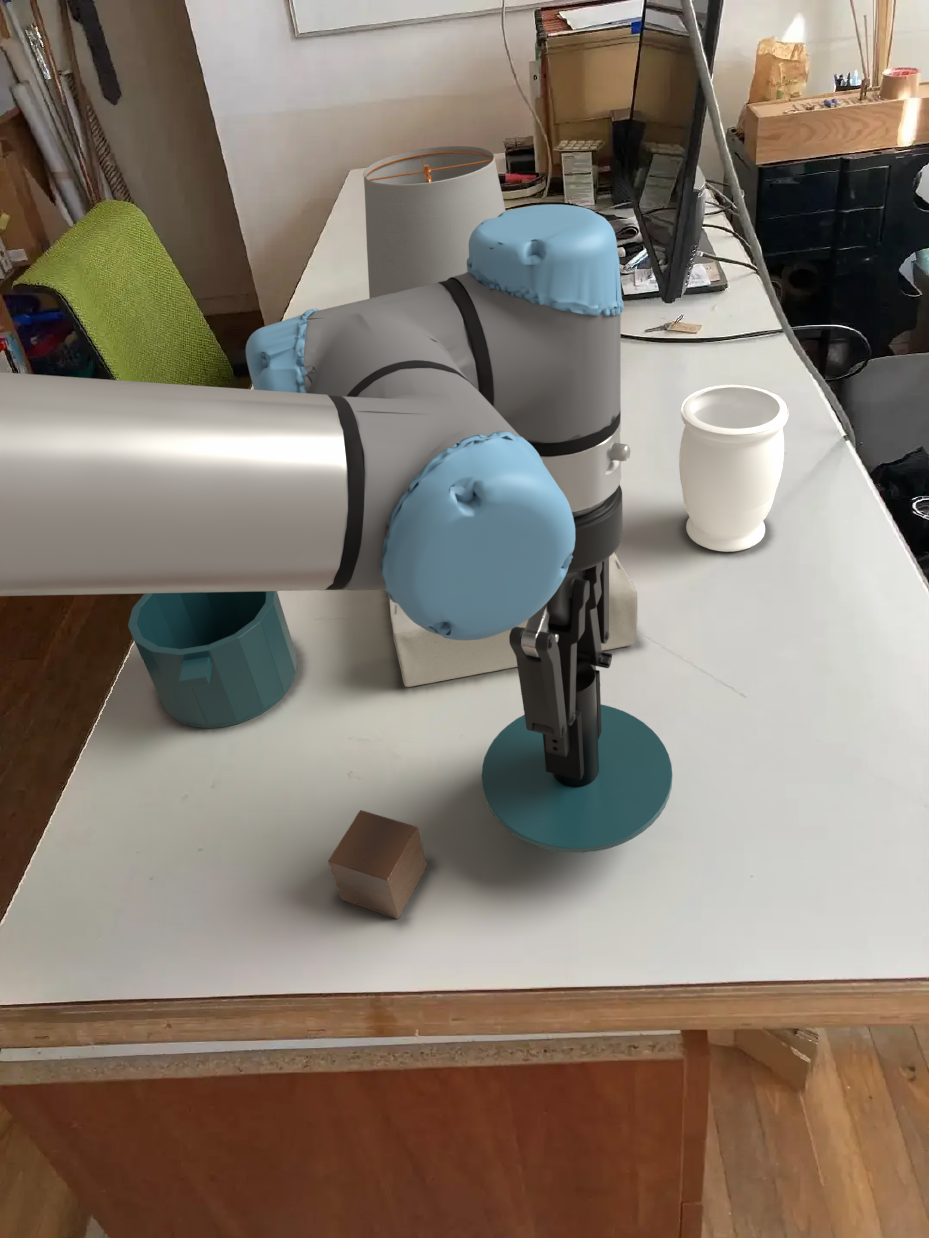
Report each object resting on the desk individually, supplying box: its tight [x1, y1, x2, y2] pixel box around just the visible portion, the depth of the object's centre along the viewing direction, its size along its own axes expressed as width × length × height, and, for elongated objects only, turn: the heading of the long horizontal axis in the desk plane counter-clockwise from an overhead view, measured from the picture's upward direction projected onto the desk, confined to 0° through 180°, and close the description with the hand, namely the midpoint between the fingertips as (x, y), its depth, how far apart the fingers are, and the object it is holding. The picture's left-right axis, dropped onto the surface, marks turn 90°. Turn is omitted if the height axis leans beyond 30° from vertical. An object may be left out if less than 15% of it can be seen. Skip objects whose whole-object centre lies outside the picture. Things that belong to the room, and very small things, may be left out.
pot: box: [127, 591, 298, 729], centre depth 90 cm, size 14×19×10 cm
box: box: [388, 552, 639, 688], centre depth 99 cm, size 23×8×32 cm
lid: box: [480, 659, 673, 854], centre depth 69 cm, size 15×15×11 cm
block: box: [327, 809, 428, 920], centre depth 71 cm, size 5×5×5 cm
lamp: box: [362, 145, 507, 299], centre depth 115 cm, size 19×19×34 cm
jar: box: [678, 384, 789, 553], centre depth 97 cm, size 11×10×15 cm
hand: (574, 751), depth 70 cm, fingers closed on lid, 4 cm apart
